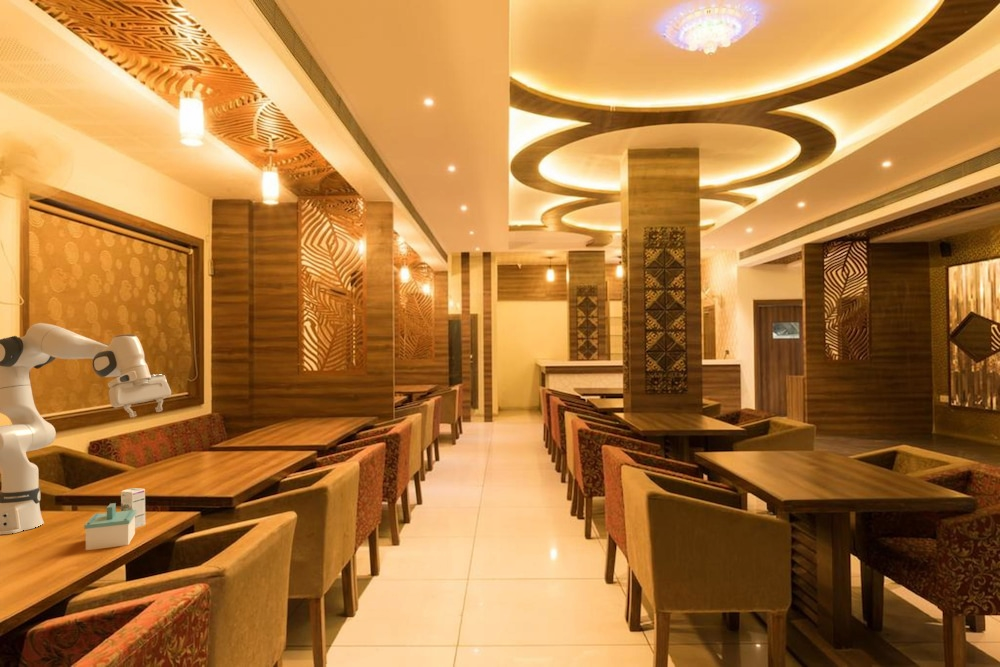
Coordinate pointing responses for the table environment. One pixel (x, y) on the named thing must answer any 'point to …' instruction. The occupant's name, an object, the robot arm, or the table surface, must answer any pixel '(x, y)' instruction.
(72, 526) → the table surface
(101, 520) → the lid
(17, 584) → the table surface
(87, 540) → the tub
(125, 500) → the syrup box
